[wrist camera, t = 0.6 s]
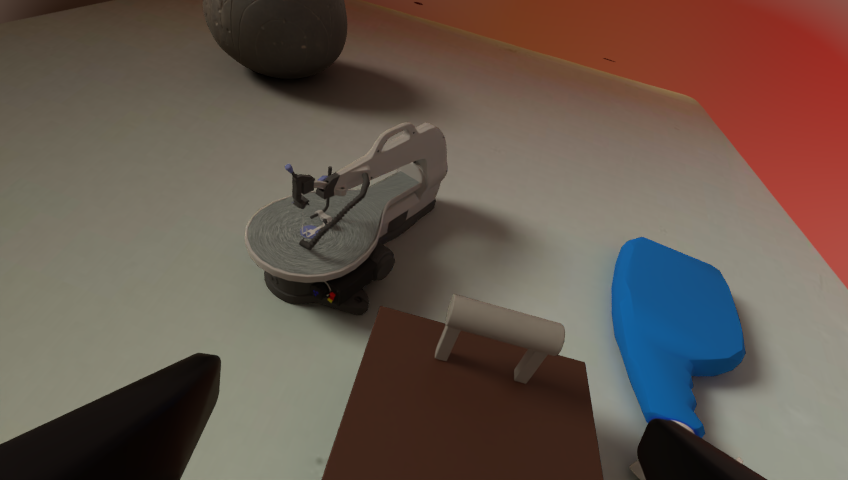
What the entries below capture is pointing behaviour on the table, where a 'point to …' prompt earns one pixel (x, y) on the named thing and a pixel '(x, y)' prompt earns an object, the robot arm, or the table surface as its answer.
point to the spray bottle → (672, 329)
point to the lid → (467, 401)
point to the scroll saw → (347, 220)
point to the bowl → (279, 34)
